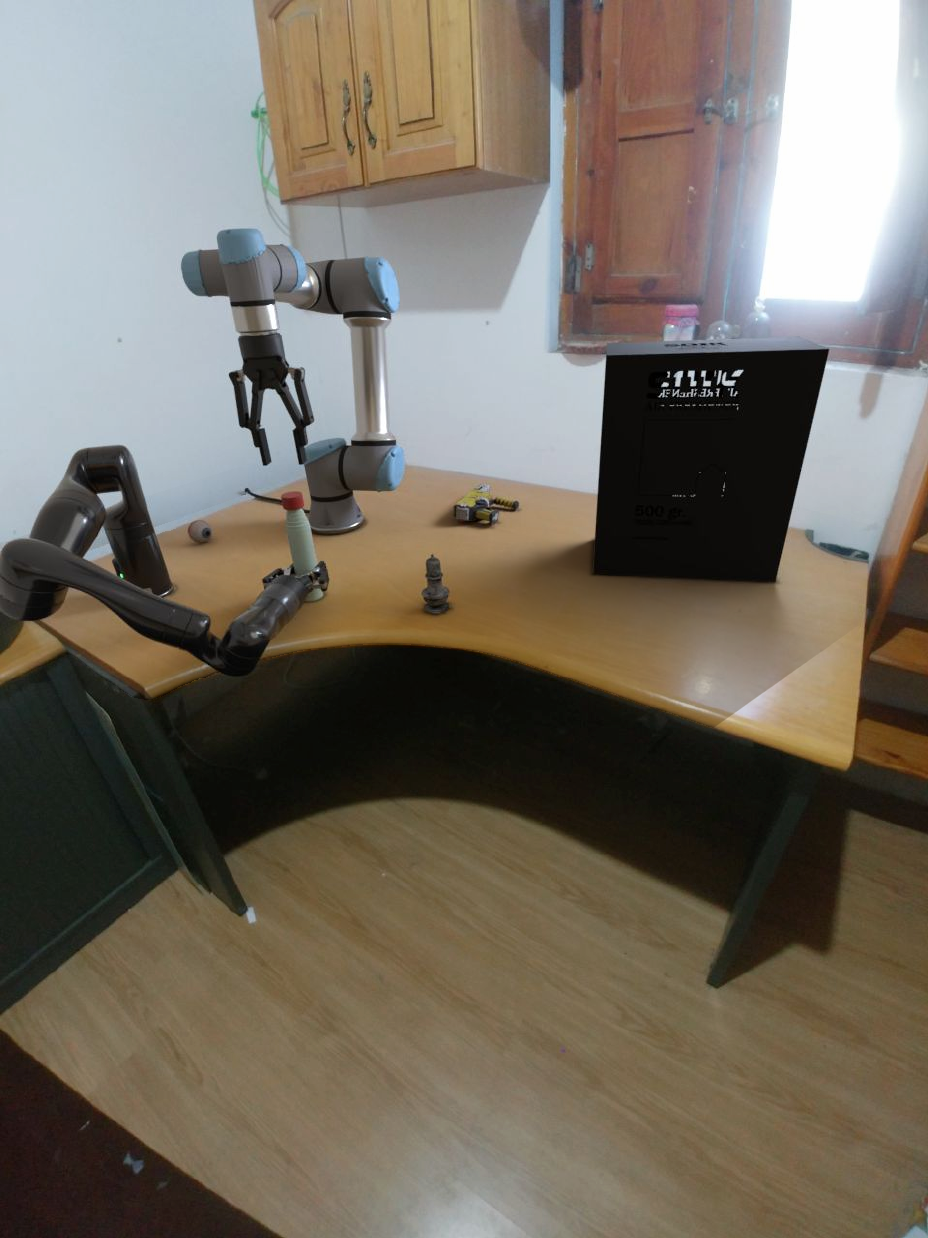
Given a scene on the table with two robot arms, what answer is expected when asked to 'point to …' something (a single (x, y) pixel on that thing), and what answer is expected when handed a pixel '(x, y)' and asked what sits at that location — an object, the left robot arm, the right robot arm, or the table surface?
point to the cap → (292, 500)
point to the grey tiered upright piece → (435, 588)
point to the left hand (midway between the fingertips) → (311, 564)
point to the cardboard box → (703, 455)
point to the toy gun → (480, 505)
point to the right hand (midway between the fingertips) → (285, 462)
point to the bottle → (301, 546)
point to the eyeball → (200, 531)
